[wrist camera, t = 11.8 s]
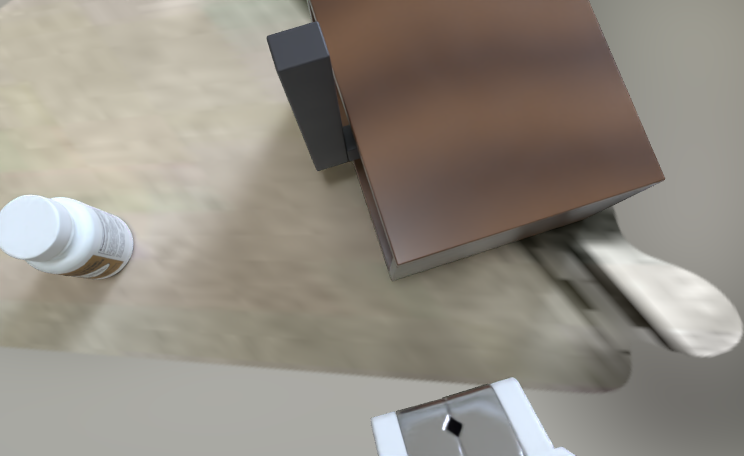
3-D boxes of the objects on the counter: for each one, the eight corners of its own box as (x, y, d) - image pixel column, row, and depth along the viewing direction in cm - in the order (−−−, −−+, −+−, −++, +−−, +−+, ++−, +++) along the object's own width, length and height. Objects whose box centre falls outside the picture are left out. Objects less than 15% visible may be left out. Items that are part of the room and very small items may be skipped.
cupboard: (585, 218, 35) (666, 179, 25) (391, 281, 35) (397, 265, 25) (502, 8, 38) (546, -102, 28) (320, 63, 37) (300, -29, 27)
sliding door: (379, 169, 35) (381, 47, 19) (322, 186, 34) (278, 78, 19) (347, 73, 36) (325, -115, 20) (292, 89, 36) (227, -87, 20)
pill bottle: (68, 282, 35) (-19, 271, 27) (70, 216, 36) (-14, 188, 28) (135, 277, 35) (67, 265, 27) (135, 212, 36) (70, 182, 28)
